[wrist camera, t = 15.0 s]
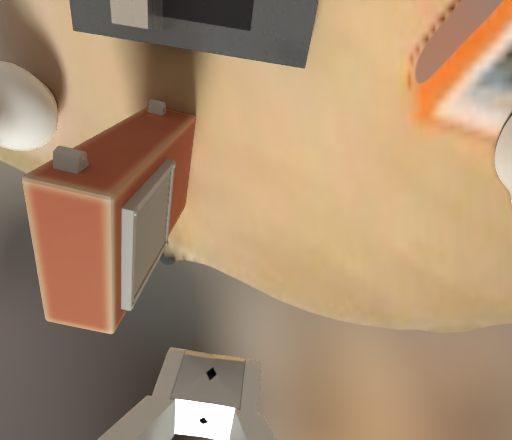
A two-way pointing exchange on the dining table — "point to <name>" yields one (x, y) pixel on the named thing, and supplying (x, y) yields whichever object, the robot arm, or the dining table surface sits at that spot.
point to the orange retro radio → (108, 215)
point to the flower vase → (25, 110)
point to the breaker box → (207, 25)
